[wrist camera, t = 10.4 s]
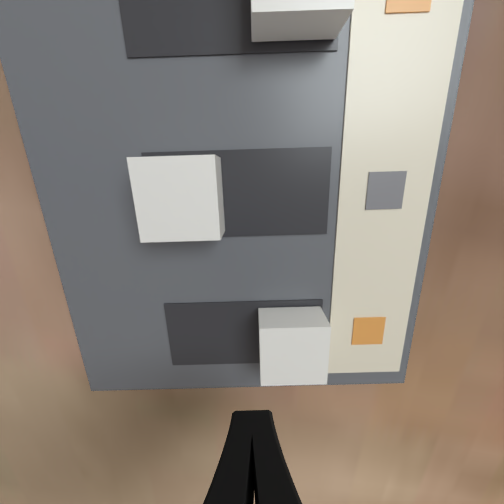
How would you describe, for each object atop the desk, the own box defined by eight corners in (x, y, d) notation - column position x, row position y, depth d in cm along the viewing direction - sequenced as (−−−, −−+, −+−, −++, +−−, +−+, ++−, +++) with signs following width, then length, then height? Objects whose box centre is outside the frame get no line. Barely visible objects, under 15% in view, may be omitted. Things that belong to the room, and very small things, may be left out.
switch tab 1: (156, 232, 13) (140, 242, 11) (146, 160, 12) (126, 157, 10) (225, 230, 13) (220, 240, 11) (220, 157, 12) (214, 154, 10)
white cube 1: (259, 359, 15) (260, 386, 13) (258, 307, 14) (259, 328, 12) (317, 358, 15) (326, 384, 13) (320, 306, 14) (331, 326, 12)
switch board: (108, 367, 18) (89, 393, 16) (0, -82, 11) (-59, -141, 9) (387, 360, 18) (405, 385, 16) (458, -99, 11) (507, -164, 9)
